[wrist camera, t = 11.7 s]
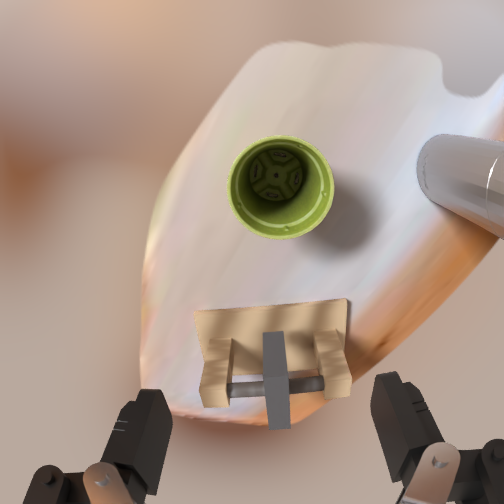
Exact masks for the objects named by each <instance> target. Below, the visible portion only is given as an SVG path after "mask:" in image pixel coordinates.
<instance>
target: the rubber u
mask: <svg viewBox="0 0 504 504" xmlns="http://www.w3.org/2000/svg"><path fill="white" fill-rule="evenodd" d="M262 334H263V381H264V389H265V398H266V406H267V415H268V423H269V430H277V429H290V428H291V427H290V426H291V425H290V401H289V380H288V368H287V359H286V350H285V341H284V332H283V331H275V332H263V333H262Z"/></svg>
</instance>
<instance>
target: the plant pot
mask: <svg viewBox="0 0 504 504" xmlns="http://www.w3.org/2000/svg"><path fill="white" fill-rule="evenodd" d="M275 153H282V154H285V155H286V157H285V158H284V157H281V156H276V155H274V154H275ZM255 166H258V169H257V173H256V177H254V168H255ZM275 173H278V175H279V176H278V177H277V178H276V177H274V174H275ZM296 173H298V174H299V179H298V183H297V184H294V182H295V179H296ZM267 192H268V193H272V194H278V196H277V197H271V196H268V195H267V194H266V193H267ZM227 196H228V201H229V204H230V207H231V209H232V211H233V213H234V215H235V216H236V218H237V219H238V221H239V222H240V223H241V224H242V225H243V226H244V227H245V228H247V229H248V230H249V231H251V232H253V233H254V234H257V235H259V236H262V237H265V238H269V239H276V240H285V239H291V238H296V237H299V236H301V235H304V234H306V233H308V232H309V231H311V230H313V229H314V228H315V227H316V226H318V225H319V224H320V223H321V222H322V220H323V219H324V218H325V216H326V215H327V213H328V212H329V210H330V207H331V205H332V201H333V197H334V178H333V174H332V171H331V168H330V166H329V164H328V162H327V160H326V159H325V157H324V156H323V155H322V153H321V152H320V151H319V150H318V149H317V148H316V147H314V146H313V145H311V144H310V143H308V142H306V141H304V140H302V139H299V138H296V137H292V136H286V135H277V136H270V137H266V138H263V139H260V140H258V141H256V142H254V143H252V144H251V145H249V146H248V147H246V148H245V149H244V150H243V151H242V152H241V153H240V154H239V155H238V157H237V158H236V159H235V161H234V163H233V165H232V167H231V169H230V172H229V175H228V180H227Z"/></svg>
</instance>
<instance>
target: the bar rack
mask: <svg viewBox="0 0 504 504" xmlns="http://www.w3.org/2000/svg"><path fill="white" fill-rule="evenodd" d="M346 317H347V300H346V298H343V299H334V300H325V301H315V302H305V303H295V304H284V305H272V306H260V307H247V308H233V309H218V310H201V311H194V320H195V324H196V329H197V333H198V337H199V342H200V346H201V350H202V354H203V358H204V362H205V363H204V368H203V373H202V377H201V382H200V387H199V393H200V396H201V399H202V403H203V406H204V408H212V407H229V405H230V398H238V397H258V396H265V389H264V381H258V382H239V383H232V375H250V374H263V334H262V333H263V332H275V331H283V332H284V341H285V350H286V359H287V368H288V372H290V371H300V370H310V369H318V371H319V376H314V377H305V378H295V379H288V380H289V394H296V393H306V392H315V391H323V395H324V399H325V400H328V399H335V398H341V397H349V396H350V391H351V384H352V376H351V373H350V370H349V367H348V364H347V361H346V358H345V355H344V348H345V334H346Z"/></svg>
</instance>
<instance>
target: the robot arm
mask: <svg viewBox="0 0 504 504" xmlns="http://www.w3.org/2000/svg"><path fill="white" fill-rule="evenodd" d="M417 176H418V181H419V184H420V187H421V189H422V191H423V192H424V194H425V195H426V196H427V197H428V198H429V199H430V200H431V201H433V202H435V203H437V204H439V205H441V206H443V207H445V208H447V209H449V210H450V211H452V212H454V213H456V214H458V215H460V216H462V217H464V218H466V219H467V220H469V221H471V222H473V223H475V224H477V225H478V226H480V227H482V228H484V229H486V230H487V231H489V232H491V233H493V234H494V235H496V236H498V237H499V238H501V239H503V240H504V142H503V141H496V140H490V139H483V138H475V137H467V136H459V135H448V134H441V135H437V136H435V137H433V138H431V139H430V140H429V141H428V142H427V143H426V144H425V145H424V147H423V148H422V150H421V152H420V154H419V158H418V162H417ZM370 407H371V415H372V418H373V421H374V424H375V427H376V430H377V433H378V436H379V440H380V443H381V446H382V449H383V453H384V456H385V459H386V462H387V466H388V469H389V472H390V476H391V479H392V482H393V483H394V482H398V481H401V480H402V483H403V486H404V488H403V489H402V491H401V493H400V495H399V497H398V499H397V501H396V503H395V504H446V502H451V501H455V503H456V504H504V440H503V439H494V440H491V441H489V442H488V443H486V445H485V446H484V447H483V449H476V450H457V448H456V447H455V446H453V445H451V444H449V443H445V441H444V439H443V437H442V435H441V433H440V431H439V429H438V427H437V425H436V423H435V421H434V419H433V416H432V414H431V412H430V410H428V407H427V404H426V402H424V398H423V396H422V394H421V392H420V390H419V389H418V388H417V387H415V386H414V385H413V384H412V383H411V382H406V383H402V381H401V379H400V377H399V375H398V373H397V372H396V371H394V372H389V373H383V374H378V375H376V377H375V382H374V387H373V392H372V397H371V405H370ZM172 423H173V422H172V415H171V412H170V410H169V407H168V405H167V402H166V400H165V397H164V395H163V393H162V391H161V390H160V389H141V390H140V391H139V394H138V396H137V399H136V401H129V402H128V403H127V404H126V405H125V406H124V407H123V408H122V409H121V411H120V413H119V416H118V419H117V422H116V423H115V426H114V430H112V433H111V435H110V438H109V441H108V443H107V446H106V448H105V451H104V453H103V456H102V458H101V460H100V462H98V463H95V464H93V465H91V466H90V467H88V468H87V470H86V471H85V472H80V473H63V472H62V471H61V470H60V469H59V468H58V467H56V466H53V465H46V466H43V467H41V468H39V469H38V470H37V471H36V472H35V474H34V476H33V479H32V481H31V484H30V486H29V489H28V491H27V494H26V496H25V499H24V501H23V504H145V502H144V501H145V497H146V494H148V495H156V494H157V489H158V484H159V481H160V476H161V472H162V468H163V464H164V460H165V455H166V451H167V447H168V443H169V439H170V435H171V431H172V425H173V424H172Z"/></svg>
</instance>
